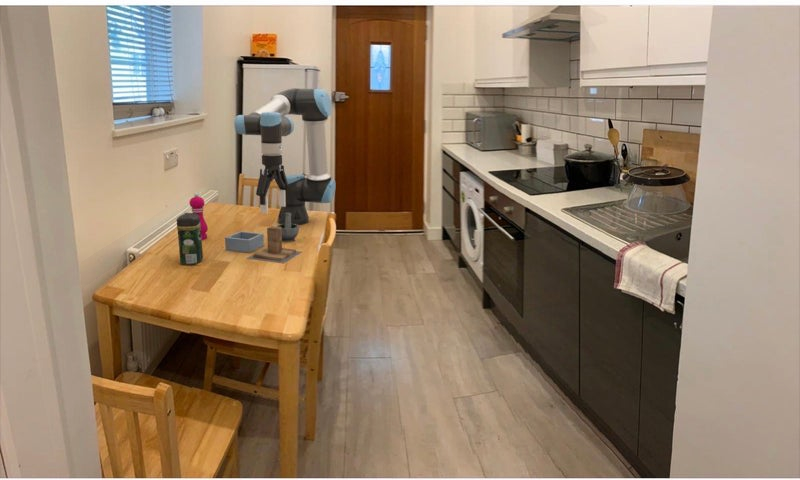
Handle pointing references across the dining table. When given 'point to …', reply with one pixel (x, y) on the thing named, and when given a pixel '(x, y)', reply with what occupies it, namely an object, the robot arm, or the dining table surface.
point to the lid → (274, 246)
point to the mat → (275, 260)
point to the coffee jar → (189, 239)
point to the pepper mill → (199, 213)
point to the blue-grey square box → (244, 241)
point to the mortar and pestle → (288, 229)
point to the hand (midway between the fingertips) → (273, 209)
